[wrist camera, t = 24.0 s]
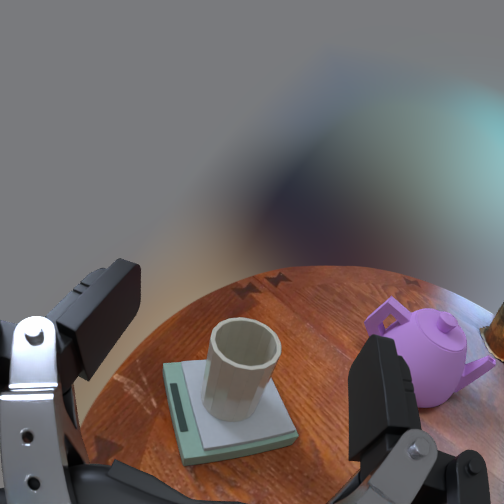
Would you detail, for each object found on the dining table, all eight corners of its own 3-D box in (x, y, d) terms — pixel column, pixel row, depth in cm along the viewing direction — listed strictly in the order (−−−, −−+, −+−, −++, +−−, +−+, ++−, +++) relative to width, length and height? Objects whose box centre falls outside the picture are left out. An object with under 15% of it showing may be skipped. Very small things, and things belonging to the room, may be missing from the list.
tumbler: (208, 425, 26) (221, 373, 22) (195, 378, 31) (204, 319, 27) (265, 416, 28) (292, 363, 24) (247, 372, 33) (266, 315, 29)
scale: (183, 466, 24) (184, 455, 23) (162, 375, 34) (163, 358, 32) (292, 444, 29) (301, 432, 27) (256, 366, 38) (261, 350, 37)
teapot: (333, 373, 39) (370, 307, 34) (365, 320, 51) (394, 263, 46) (454, 438, 30) (509, 384, 24) (463, 373, 42) (501, 323, 36)
